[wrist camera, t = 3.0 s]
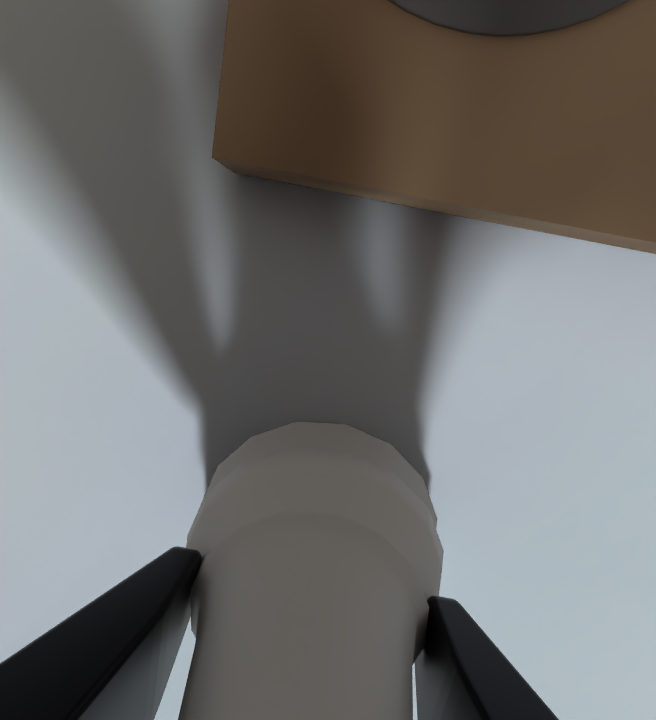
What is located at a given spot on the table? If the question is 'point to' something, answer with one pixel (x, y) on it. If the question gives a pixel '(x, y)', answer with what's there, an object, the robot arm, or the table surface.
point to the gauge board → (452, 107)
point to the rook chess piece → (311, 579)
